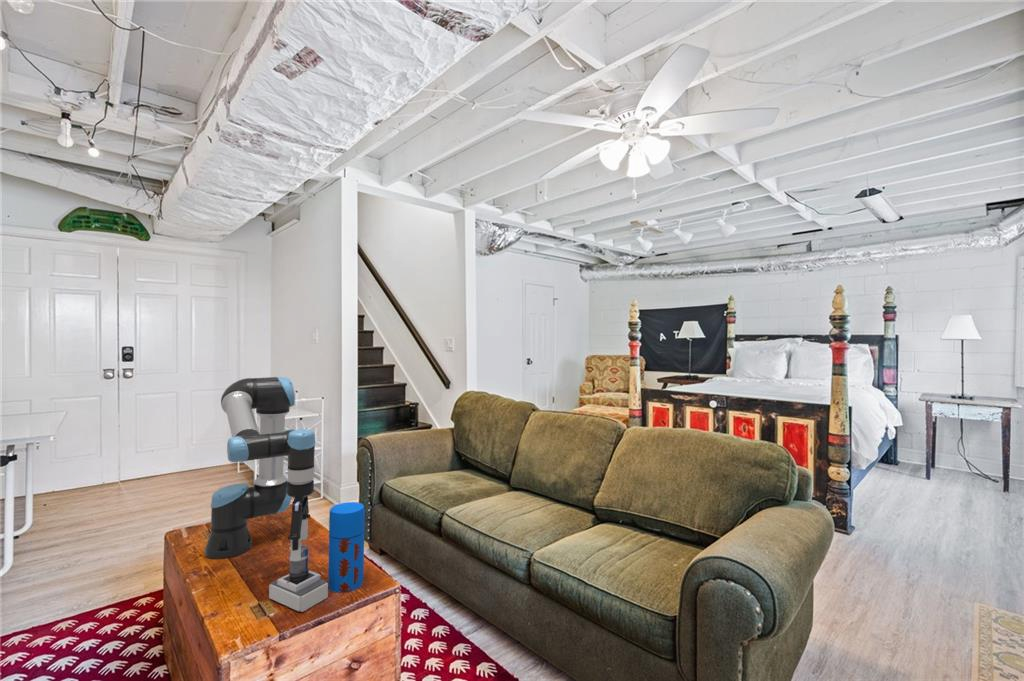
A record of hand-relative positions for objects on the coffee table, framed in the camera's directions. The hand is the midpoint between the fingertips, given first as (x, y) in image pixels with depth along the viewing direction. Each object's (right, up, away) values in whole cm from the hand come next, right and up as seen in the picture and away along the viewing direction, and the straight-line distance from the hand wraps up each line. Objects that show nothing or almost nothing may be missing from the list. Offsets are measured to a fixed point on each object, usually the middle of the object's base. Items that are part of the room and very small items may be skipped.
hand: (299, 549), depth 143 cm
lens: (0, -10, 0) cm, 10 cm away
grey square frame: (0, -15, 0) cm, 15 cm away
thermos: (+11, -15, +8) cm, 21 cm away
